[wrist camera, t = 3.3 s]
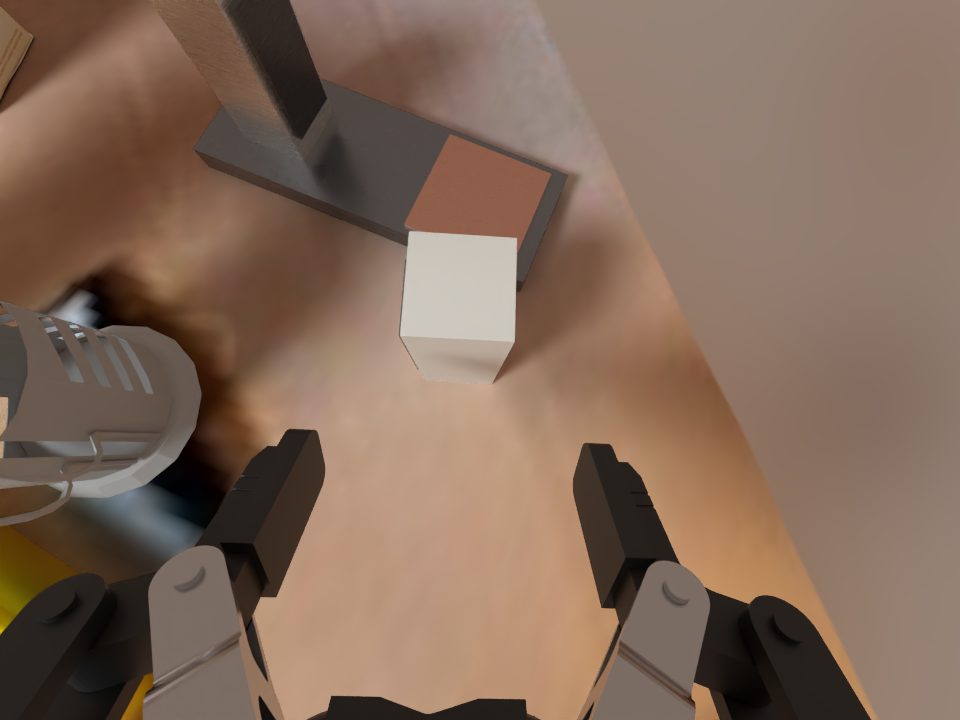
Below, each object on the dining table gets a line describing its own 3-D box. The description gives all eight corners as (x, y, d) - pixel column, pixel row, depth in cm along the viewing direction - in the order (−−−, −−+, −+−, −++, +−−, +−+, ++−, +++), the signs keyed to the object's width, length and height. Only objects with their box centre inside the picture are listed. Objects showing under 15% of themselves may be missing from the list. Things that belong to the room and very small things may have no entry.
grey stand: (208, 165, 25) (8, -55, 14) (268, 74, 27) (133, -186, 16) (519, 291, 25) (570, 164, 13) (561, 190, 26) (637, 2, 15)
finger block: (420, 380, 23) (391, 335, 13) (424, 317, 24) (400, 230, 14) (491, 384, 23) (514, 342, 14) (493, 320, 24) (517, 237, 14)
